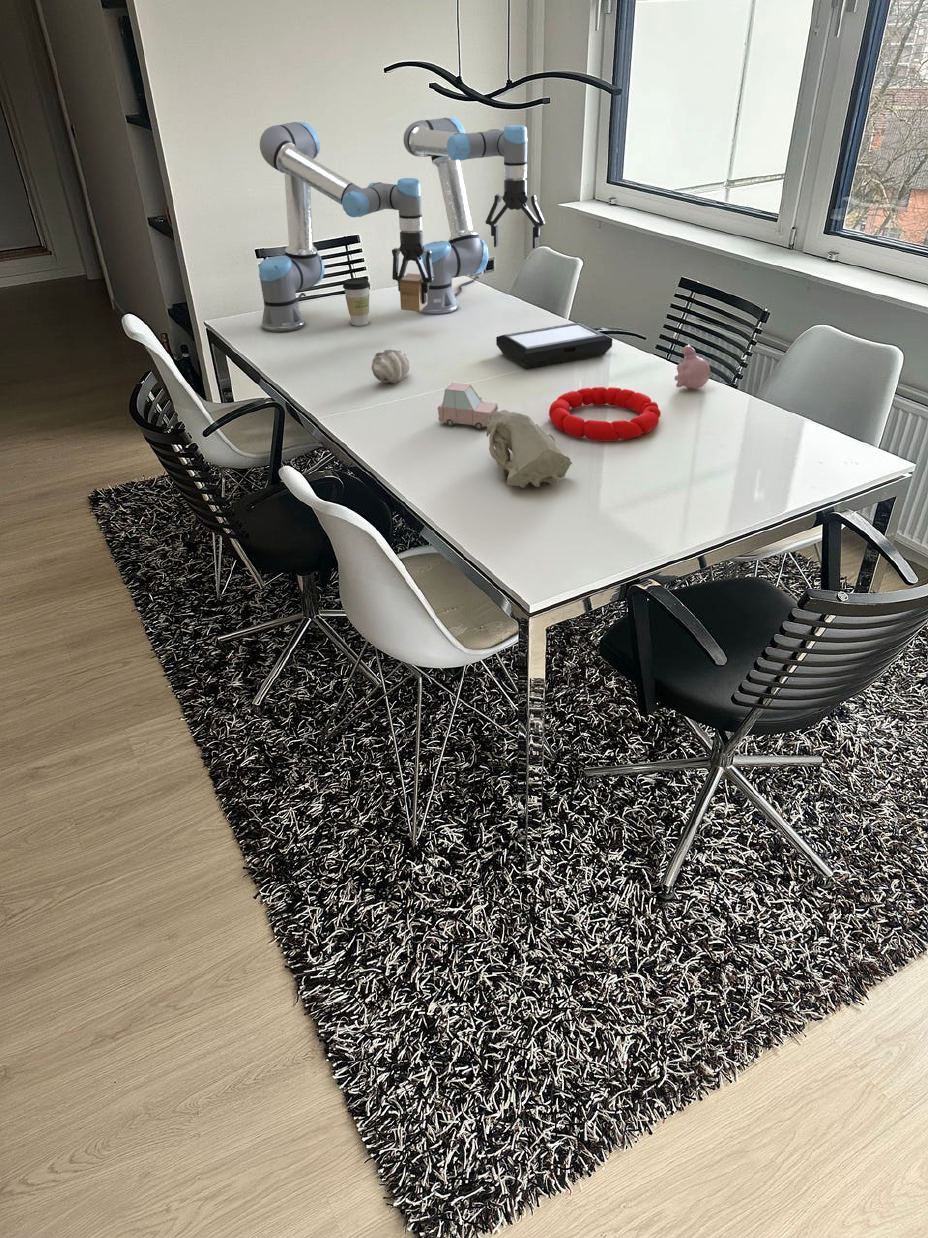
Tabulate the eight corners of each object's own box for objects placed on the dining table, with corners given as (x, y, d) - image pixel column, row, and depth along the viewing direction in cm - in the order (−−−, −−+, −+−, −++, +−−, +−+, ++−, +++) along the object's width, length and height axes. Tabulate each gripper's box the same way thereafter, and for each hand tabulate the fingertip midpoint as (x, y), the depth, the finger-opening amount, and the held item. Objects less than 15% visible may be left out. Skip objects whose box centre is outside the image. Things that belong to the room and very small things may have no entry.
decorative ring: (589, 435, 224) (684, 402, 234) (527, 398, 247) (617, 369, 256) (589, 461, 229) (683, 427, 238) (529, 422, 251) (617, 393, 260)
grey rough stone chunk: (496, 517, 219) (521, 479, 201) (463, 429, 225) (484, 384, 207) (557, 503, 225) (586, 465, 206) (523, 417, 231) (549, 373, 212)
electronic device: (524, 351, 275) (496, 334, 291) (524, 371, 279) (496, 353, 294) (612, 335, 286) (581, 320, 301) (611, 355, 289) (580, 338, 304)
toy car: (488, 432, 240) (488, 396, 234) (436, 426, 244) (434, 390, 239) (499, 419, 247) (499, 384, 241) (448, 413, 252) (447, 379, 246)
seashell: (364, 381, 275) (361, 349, 270) (407, 372, 281) (405, 341, 275) (377, 391, 268) (374, 358, 262) (421, 382, 273) (420, 349, 268)
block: (419, 311, 304) (418, 281, 298) (400, 309, 305) (399, 279, 300) (427, 303, 311) (426, 274, 305) (409, 302, 312) (407, 273, 307)
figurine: (665, 387, 264) (669, 347, 257) (693, 380, 268) (698, 340, 261) (686, 396, 257) (690, 355, 250) (714, 388, 262) (720, 348, 255)
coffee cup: (372, 326, 323) (368, 283, 314) (345, 327, 323) (340, 284, 315) (374, 318, 331) (371, 276, 322) (348, 319, 331) (344, 277, 323)
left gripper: (442, 229, 294) (444, 300, 308) (386, 226, 299) (390, 296, 312) (436, 234, 289) (438, 306, 302) (379, 231, 293) (383, 302, 306)
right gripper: (554, 177, 294) (552, 245, 306) (481, 176, 300) (482, 243, 312) (550, 180, 288) (548, 250, 300) (476, 179, 294) (477, 247, 306)
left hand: (414, 301), depth 307 cm, fingers closed on block, 7 cm apart
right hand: (515, 246), depth 306 cm, fingers open, 13 cm apart
